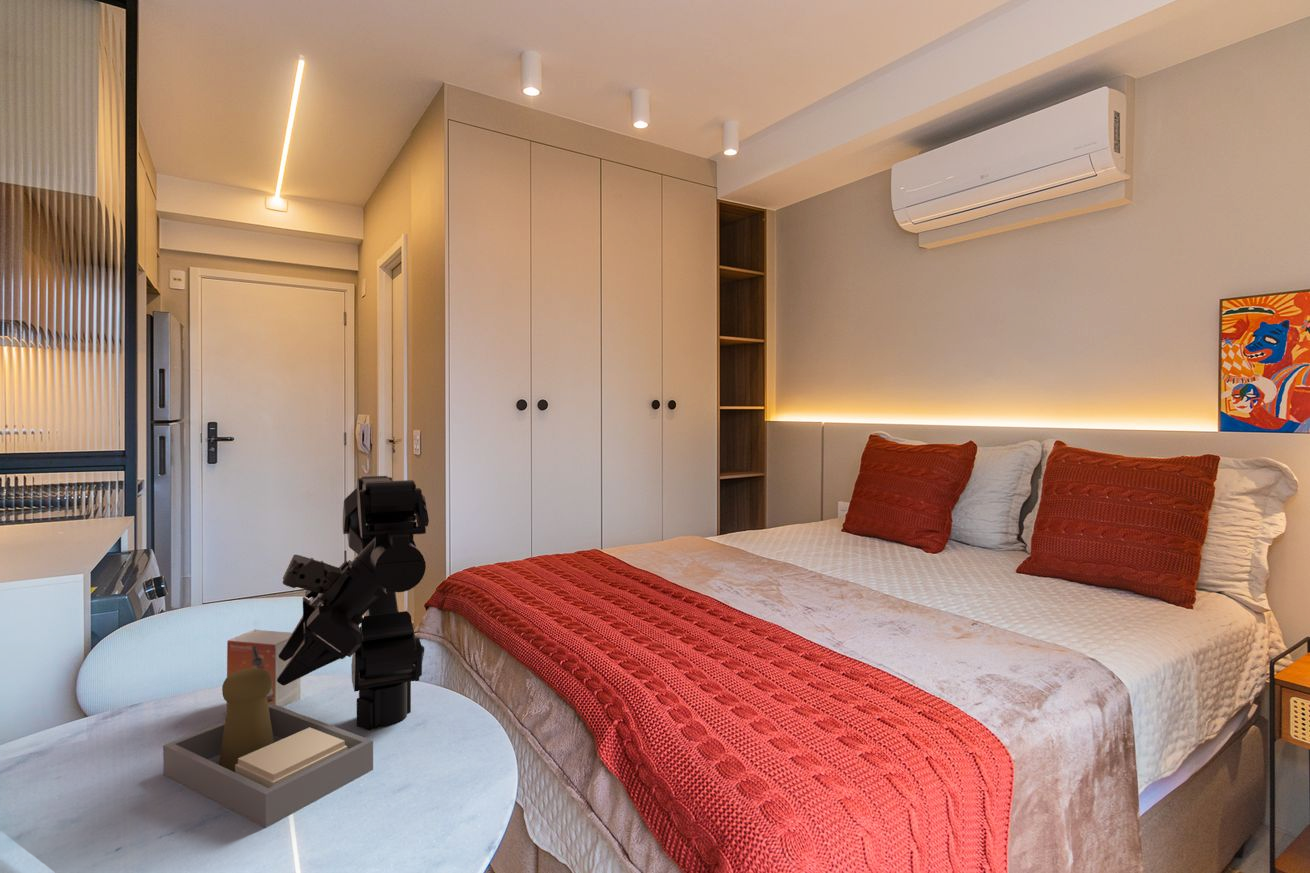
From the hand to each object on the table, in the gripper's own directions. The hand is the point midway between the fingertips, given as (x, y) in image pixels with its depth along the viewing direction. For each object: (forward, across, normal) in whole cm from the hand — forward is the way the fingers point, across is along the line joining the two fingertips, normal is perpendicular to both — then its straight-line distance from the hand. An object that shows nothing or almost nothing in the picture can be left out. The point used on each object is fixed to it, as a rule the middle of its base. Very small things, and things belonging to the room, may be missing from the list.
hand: (280, 670), depth 83 cm
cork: (+10, 0, +5) cm, 11 cm away
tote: (+9, +4, +7) cm, 12 cm away
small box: (+10, -19, +6) cm, 23 cm away
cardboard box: (+7, +8, +8) cm, 13 cm away
